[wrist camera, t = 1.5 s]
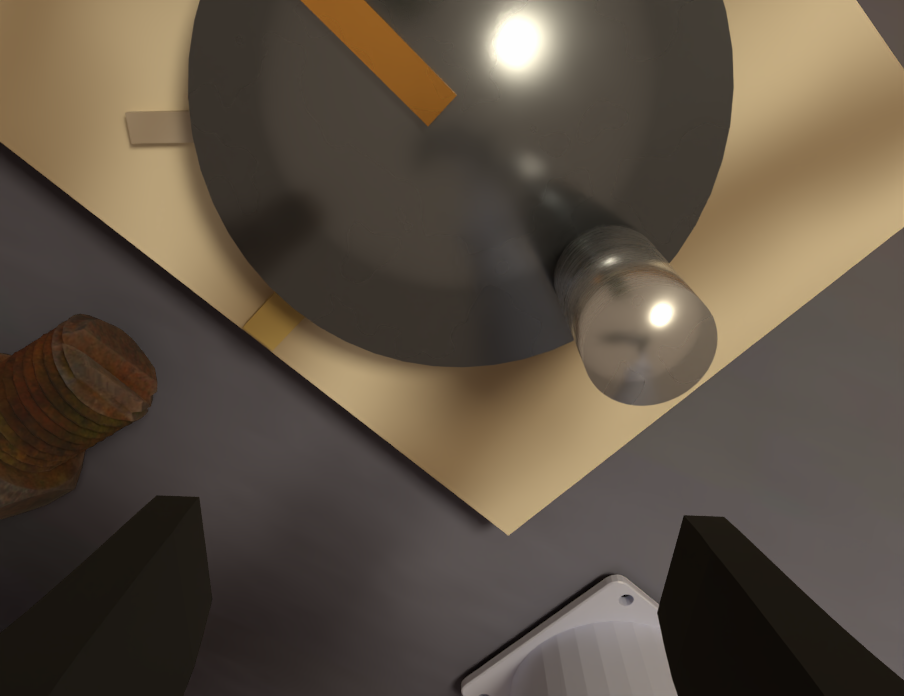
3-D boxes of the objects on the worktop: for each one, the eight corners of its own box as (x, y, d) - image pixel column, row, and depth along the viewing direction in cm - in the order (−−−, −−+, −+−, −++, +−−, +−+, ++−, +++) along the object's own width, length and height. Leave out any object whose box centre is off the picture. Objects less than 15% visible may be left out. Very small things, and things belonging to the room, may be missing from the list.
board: (942, 161, 18) (982, 174, 17) (505, 511, 23) (509, 541, 22) (370, -654, 12) (361, -735, 11) (-64, 62, 17) (-107, 67, 16)
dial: (828, 126, 17) (968, 171, 12) (470, 435, 20) (478, 554, 16) (456, -365, 13) (463, -559, 8) (97, 129, 16) (-29, 175, 12)
